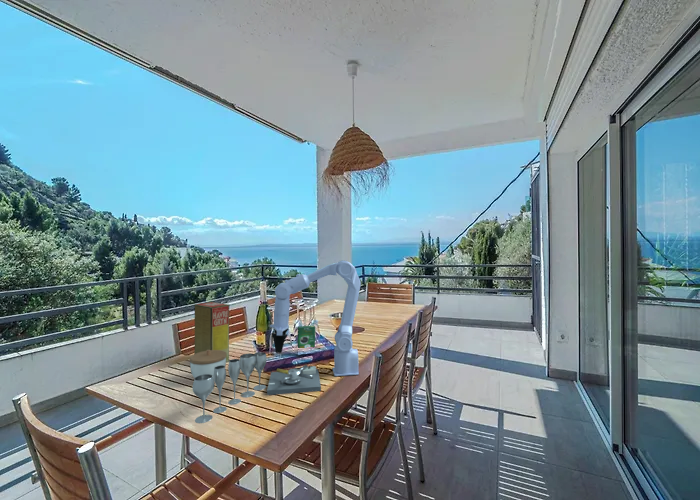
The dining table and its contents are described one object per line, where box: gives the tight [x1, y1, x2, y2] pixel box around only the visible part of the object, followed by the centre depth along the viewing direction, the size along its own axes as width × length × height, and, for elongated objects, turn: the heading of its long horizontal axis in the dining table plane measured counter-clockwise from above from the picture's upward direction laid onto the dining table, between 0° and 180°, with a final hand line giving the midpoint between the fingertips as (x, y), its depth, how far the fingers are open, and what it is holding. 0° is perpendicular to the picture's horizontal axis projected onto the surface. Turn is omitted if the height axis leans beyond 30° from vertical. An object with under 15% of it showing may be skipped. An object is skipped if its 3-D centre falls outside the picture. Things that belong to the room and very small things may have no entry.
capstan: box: [276, 364, 313, 384], centre depth 111 cm, size 15×15×4 cm
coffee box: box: [296, 324, 316, 348], centre depth 145 cm, size 8×3×13 cm, turn 110°
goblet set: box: [192, 351, 267, 424], centre depth 100 cm, size 28×6×13 cm, turn 153°
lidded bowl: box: [189, 350, 227, 379], centre depth 118 cm, size 13×13×11 cm
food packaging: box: [193, 301, 230, 363], centre depth 137 cm, size 13×9×25 cm
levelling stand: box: [266, 365, 322, 396], centre depth 114 cm, size 18×16×4 cm
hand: (279, 349), depth 121 cm, fingers open, 7 cm apart
